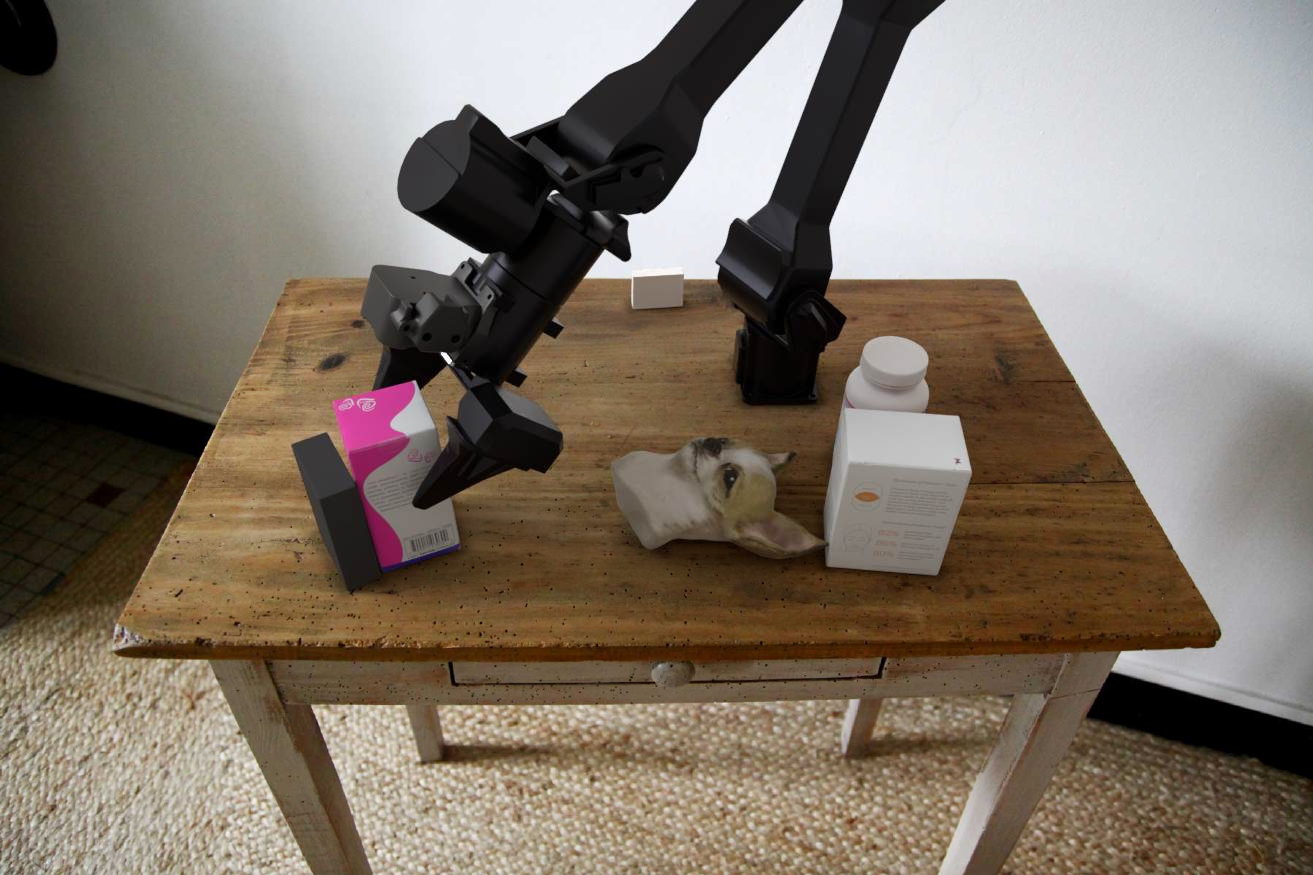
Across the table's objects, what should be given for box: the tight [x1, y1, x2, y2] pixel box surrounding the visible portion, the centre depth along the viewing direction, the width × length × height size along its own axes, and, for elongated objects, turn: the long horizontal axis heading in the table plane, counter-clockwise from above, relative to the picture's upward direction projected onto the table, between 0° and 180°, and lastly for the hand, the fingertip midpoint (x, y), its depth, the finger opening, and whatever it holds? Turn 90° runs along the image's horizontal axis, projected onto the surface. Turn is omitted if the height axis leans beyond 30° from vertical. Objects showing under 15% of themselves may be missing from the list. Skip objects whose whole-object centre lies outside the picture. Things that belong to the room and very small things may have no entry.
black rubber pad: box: [290, 431, 382, 592], centre depth 62 cm, size 2×6×9 cm, turn 32°
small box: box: [823, 408, 973, 576], centre depth 64 cm, size 8×6×10 cm
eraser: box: [631, 266, 685, 310], centre depth 89 cm, size 1×5×4 cm, turn 98°
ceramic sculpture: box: [610, 436, 829, 560], centre depth 66 cm, size 11×9×15 cm
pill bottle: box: [832, 335, 930, 460], centre depth 70 cm, size 6×6×11 cm
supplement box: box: [332, 381, 461, 573], centre depth 63 cm, size 6×6×12 cm
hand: (392, 464), depth 63 cm, fingers open, 9 cm apart
